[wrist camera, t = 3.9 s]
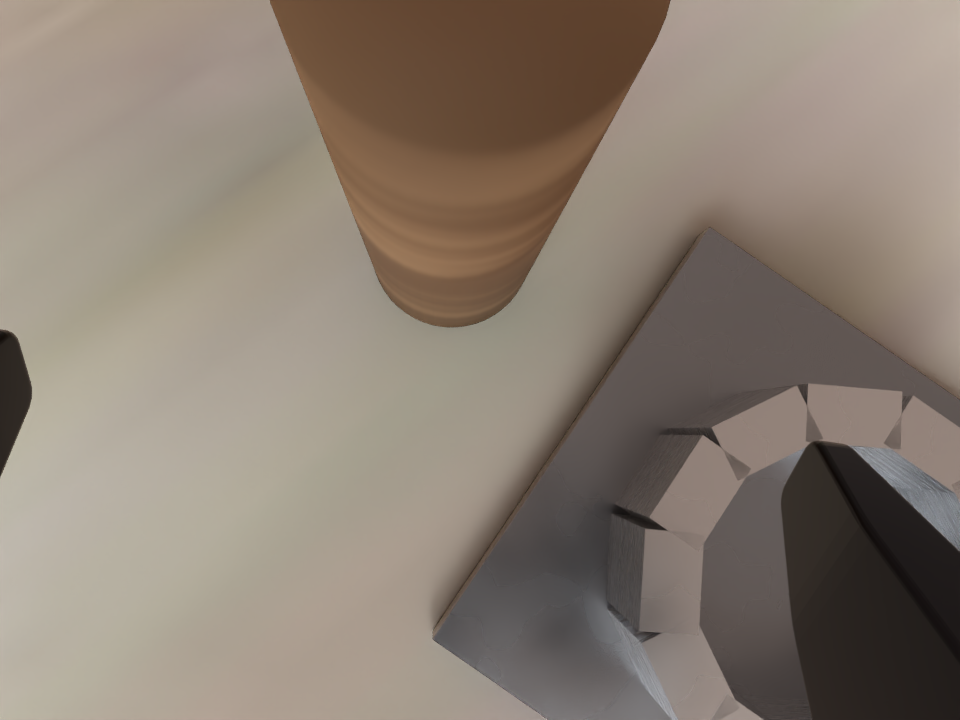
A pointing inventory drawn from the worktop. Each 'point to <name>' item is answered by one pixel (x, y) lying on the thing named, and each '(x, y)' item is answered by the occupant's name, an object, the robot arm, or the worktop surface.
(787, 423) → the bracket
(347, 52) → the brown wooden cylinder
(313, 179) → the worktop surface
